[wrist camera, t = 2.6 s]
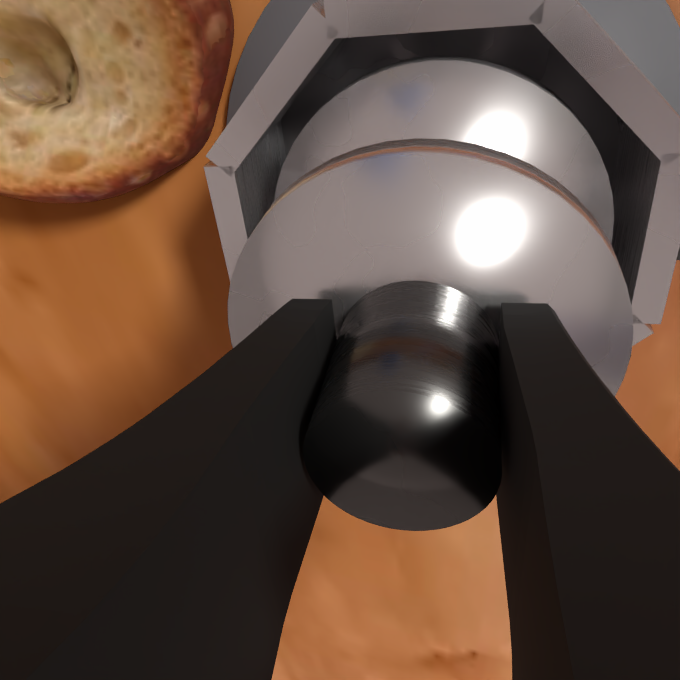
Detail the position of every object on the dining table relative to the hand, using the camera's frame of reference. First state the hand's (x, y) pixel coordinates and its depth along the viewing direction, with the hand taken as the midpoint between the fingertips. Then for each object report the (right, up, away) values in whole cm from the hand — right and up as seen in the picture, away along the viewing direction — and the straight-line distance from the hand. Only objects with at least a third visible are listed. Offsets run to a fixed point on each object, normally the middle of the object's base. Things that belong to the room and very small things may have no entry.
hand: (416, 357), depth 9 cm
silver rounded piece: (+1, +3, +3) cm, 4 cm away
